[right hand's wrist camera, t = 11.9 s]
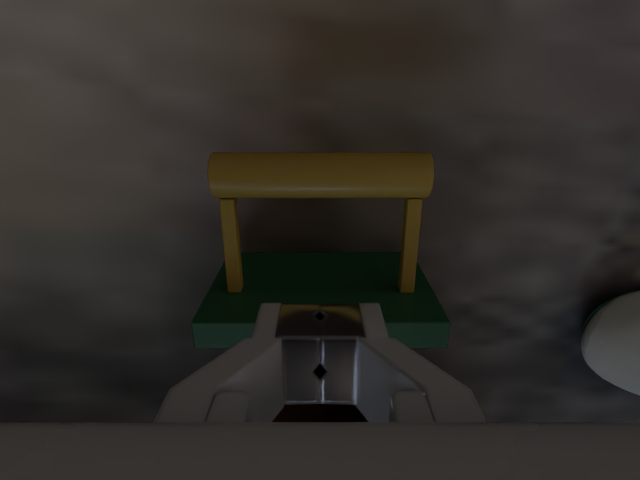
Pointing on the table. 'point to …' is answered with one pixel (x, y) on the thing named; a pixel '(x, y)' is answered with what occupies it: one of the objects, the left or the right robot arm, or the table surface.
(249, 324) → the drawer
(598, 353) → the ballet flat
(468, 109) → the table surface
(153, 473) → the right robot arm
